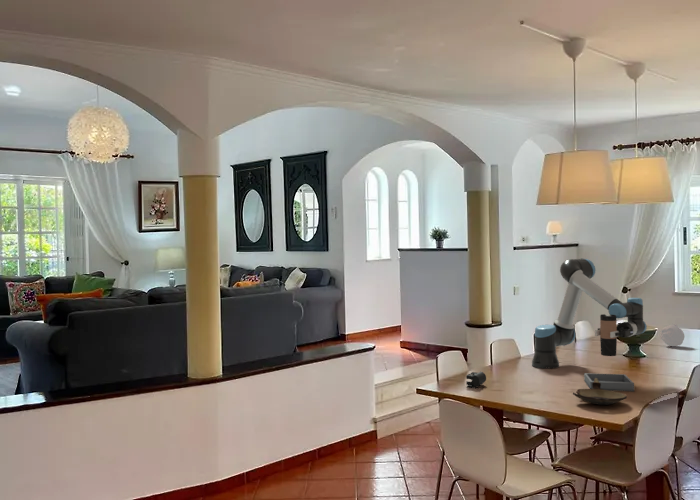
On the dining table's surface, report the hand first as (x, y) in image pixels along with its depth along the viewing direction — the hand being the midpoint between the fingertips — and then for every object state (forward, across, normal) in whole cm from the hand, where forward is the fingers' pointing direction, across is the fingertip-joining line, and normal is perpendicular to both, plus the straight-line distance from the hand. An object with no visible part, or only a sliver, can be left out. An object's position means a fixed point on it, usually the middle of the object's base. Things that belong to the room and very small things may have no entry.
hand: (603, 334), depth 318 cm
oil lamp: (+26, -14, -27) cm, 40 cm away
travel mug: (-5, 0, -11) cm, 12 cm away
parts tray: (-5, 0, -27) cm, 27 cm away
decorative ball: (-140, +29, -27) cm, 145 cm away
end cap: (+44, +44, -27) cm, 68 cm away
